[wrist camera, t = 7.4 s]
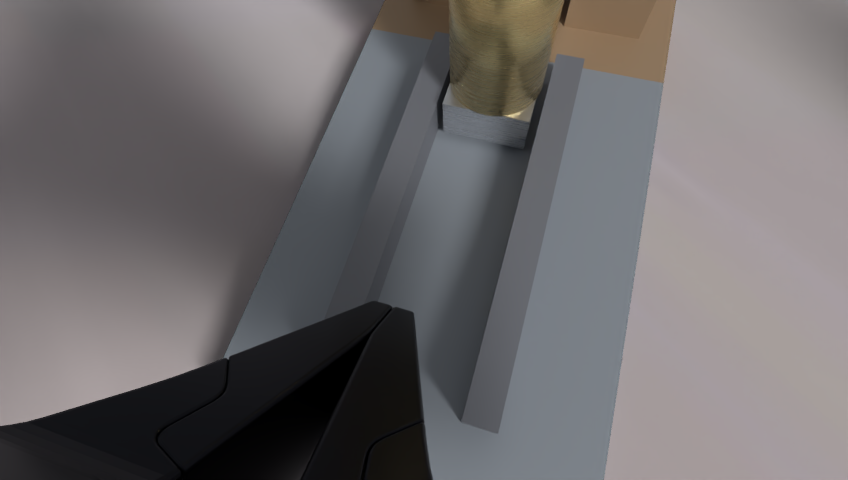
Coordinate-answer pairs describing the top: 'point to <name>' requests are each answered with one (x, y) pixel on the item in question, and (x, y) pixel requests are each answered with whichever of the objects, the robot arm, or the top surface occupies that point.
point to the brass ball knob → (497, 66)
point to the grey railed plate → (485, 235)
